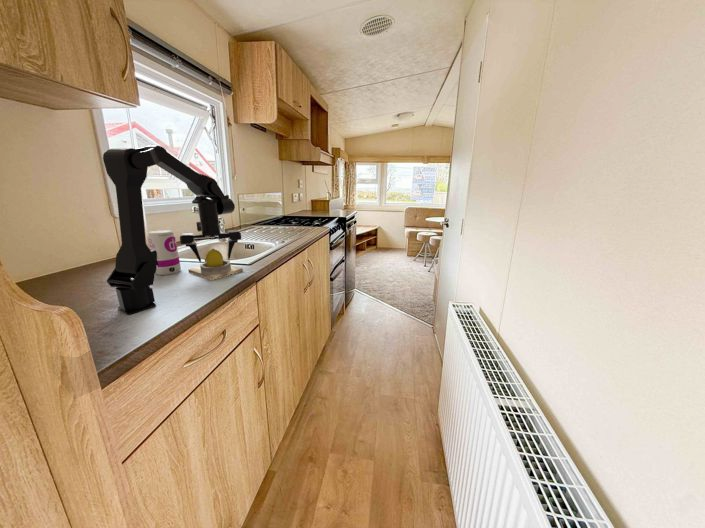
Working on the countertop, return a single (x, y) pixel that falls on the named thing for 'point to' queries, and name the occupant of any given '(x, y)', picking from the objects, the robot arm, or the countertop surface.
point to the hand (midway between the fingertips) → (214, 260)
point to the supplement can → (164, 251)
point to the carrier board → (198, 272)
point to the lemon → (214, 258)
